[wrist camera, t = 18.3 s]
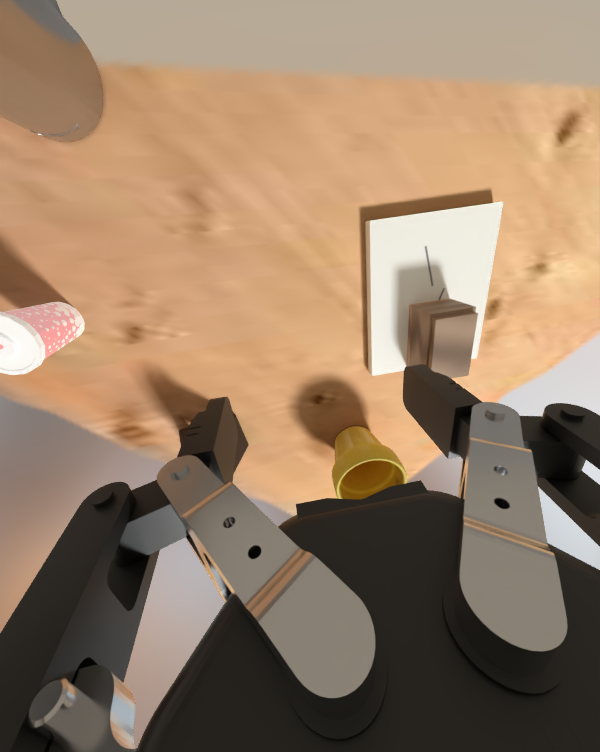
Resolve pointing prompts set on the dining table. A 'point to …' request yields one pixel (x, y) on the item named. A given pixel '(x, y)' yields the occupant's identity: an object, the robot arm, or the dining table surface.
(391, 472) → the plant pot
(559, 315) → the dining table surface
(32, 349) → the beverage cup
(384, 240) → the board
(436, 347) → the block
